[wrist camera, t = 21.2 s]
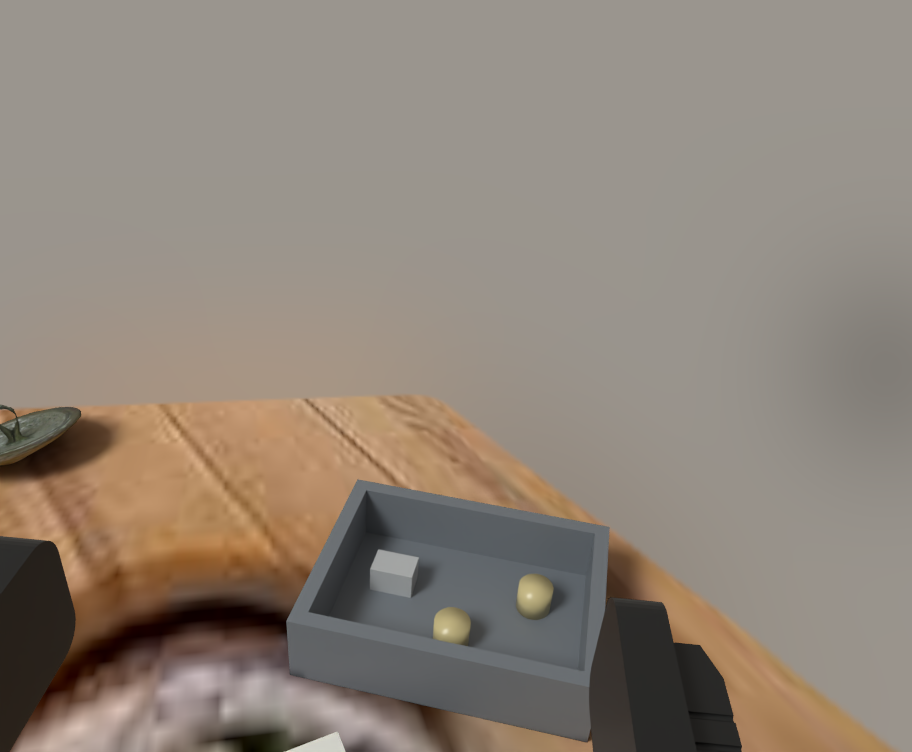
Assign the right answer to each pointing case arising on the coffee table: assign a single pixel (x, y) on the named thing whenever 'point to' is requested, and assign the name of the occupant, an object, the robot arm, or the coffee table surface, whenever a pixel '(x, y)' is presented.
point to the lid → (33, 431)
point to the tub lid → (322, 745)
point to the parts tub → (456, 608)
